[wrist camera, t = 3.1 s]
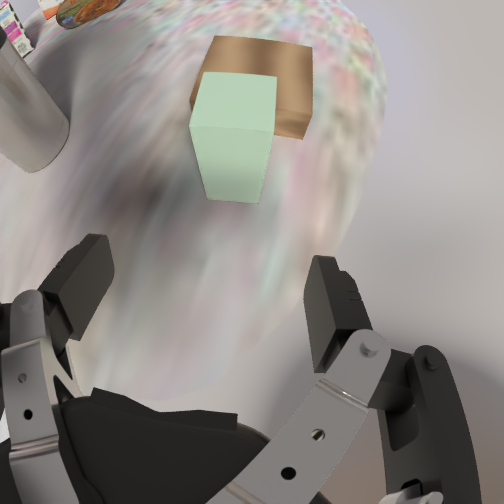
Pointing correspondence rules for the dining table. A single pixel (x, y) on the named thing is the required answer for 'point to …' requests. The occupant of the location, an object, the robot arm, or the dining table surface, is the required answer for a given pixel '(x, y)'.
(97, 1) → the tin
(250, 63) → the wooden block
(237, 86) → the green pillar
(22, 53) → the candy bar box
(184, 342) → the dining table surface
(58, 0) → the cracker box
